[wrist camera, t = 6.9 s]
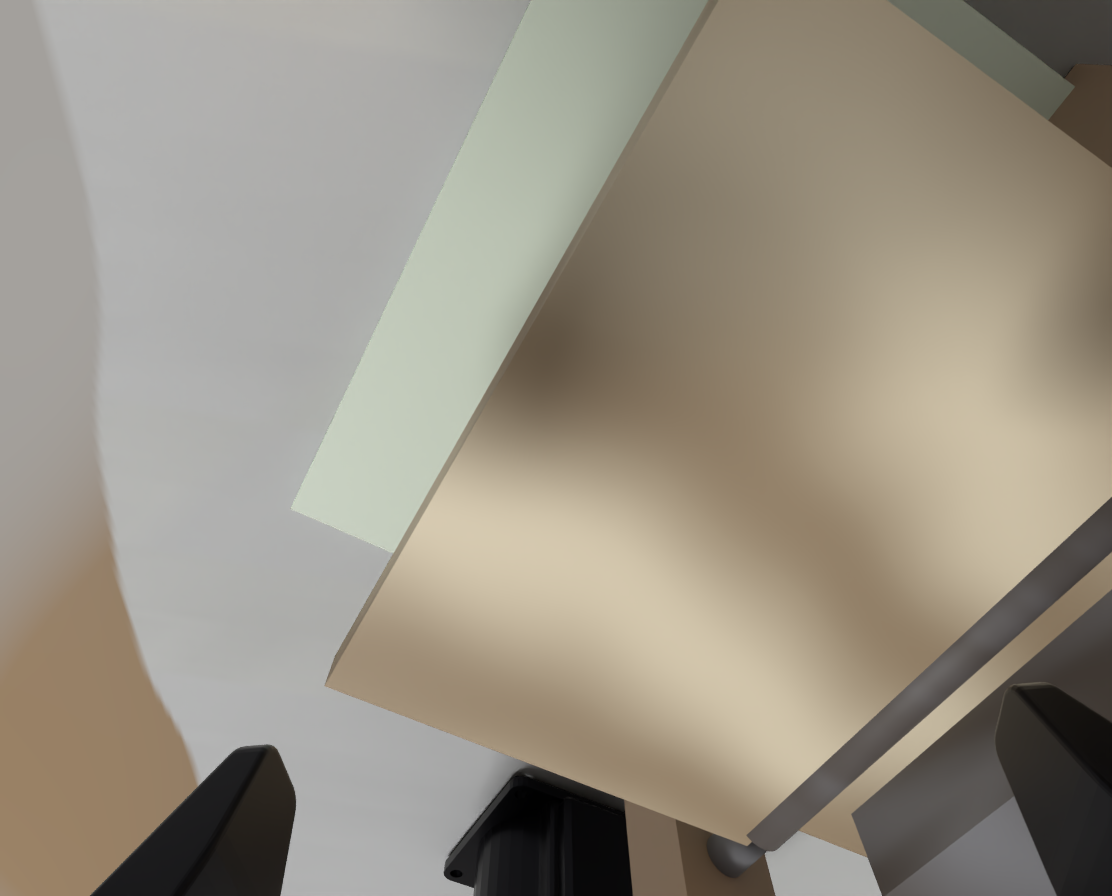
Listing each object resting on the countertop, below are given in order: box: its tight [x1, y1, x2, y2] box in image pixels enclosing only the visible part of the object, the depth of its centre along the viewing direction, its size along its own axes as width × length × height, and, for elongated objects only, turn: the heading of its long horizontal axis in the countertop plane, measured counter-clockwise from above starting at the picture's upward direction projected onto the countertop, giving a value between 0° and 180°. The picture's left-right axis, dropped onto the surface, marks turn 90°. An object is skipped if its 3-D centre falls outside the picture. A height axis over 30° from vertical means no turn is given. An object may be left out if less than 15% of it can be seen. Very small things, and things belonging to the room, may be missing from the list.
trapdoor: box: [325, 0, 1112, 896], centre depth 13 cm, size 14×14×3 cm
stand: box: [291, 0, 1112, 896], centre depth 16 cm, size 20×15×9 cm
